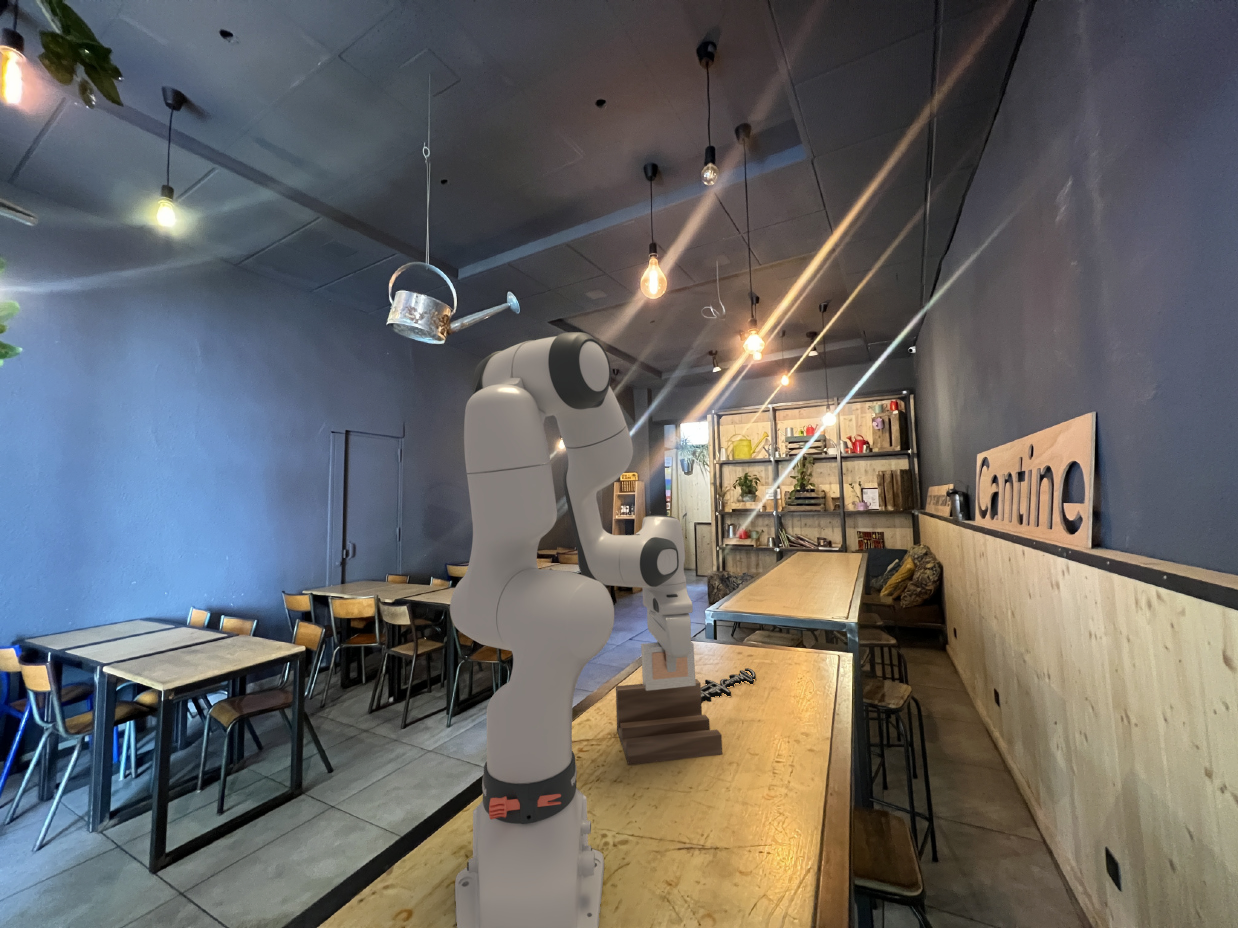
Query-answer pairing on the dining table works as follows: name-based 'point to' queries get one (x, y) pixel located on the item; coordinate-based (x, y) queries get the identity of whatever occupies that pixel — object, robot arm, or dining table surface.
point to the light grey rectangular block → (657, 672)
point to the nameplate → (725, 685)
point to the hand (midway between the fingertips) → (667, 666)
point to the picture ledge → (664, 724)
